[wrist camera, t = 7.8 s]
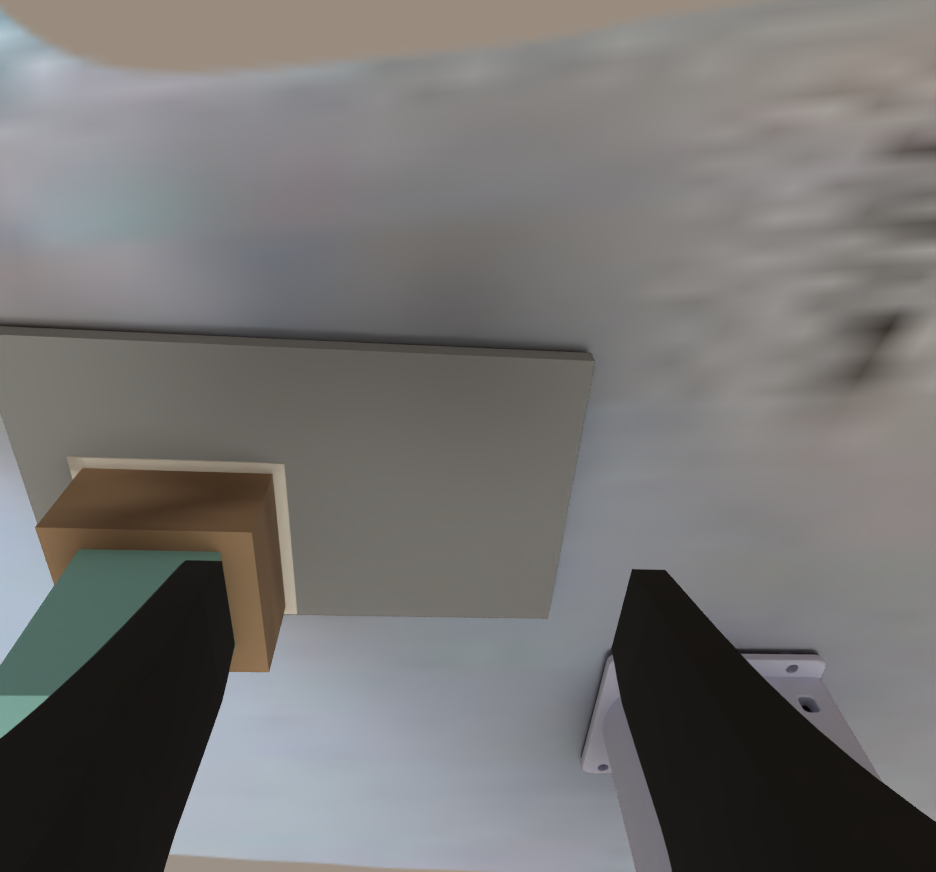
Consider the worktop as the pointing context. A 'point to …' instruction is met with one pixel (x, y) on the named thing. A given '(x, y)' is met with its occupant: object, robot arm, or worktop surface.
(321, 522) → the build mat
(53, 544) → the walnut slab
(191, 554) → the teal block
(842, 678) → the worktop surface
